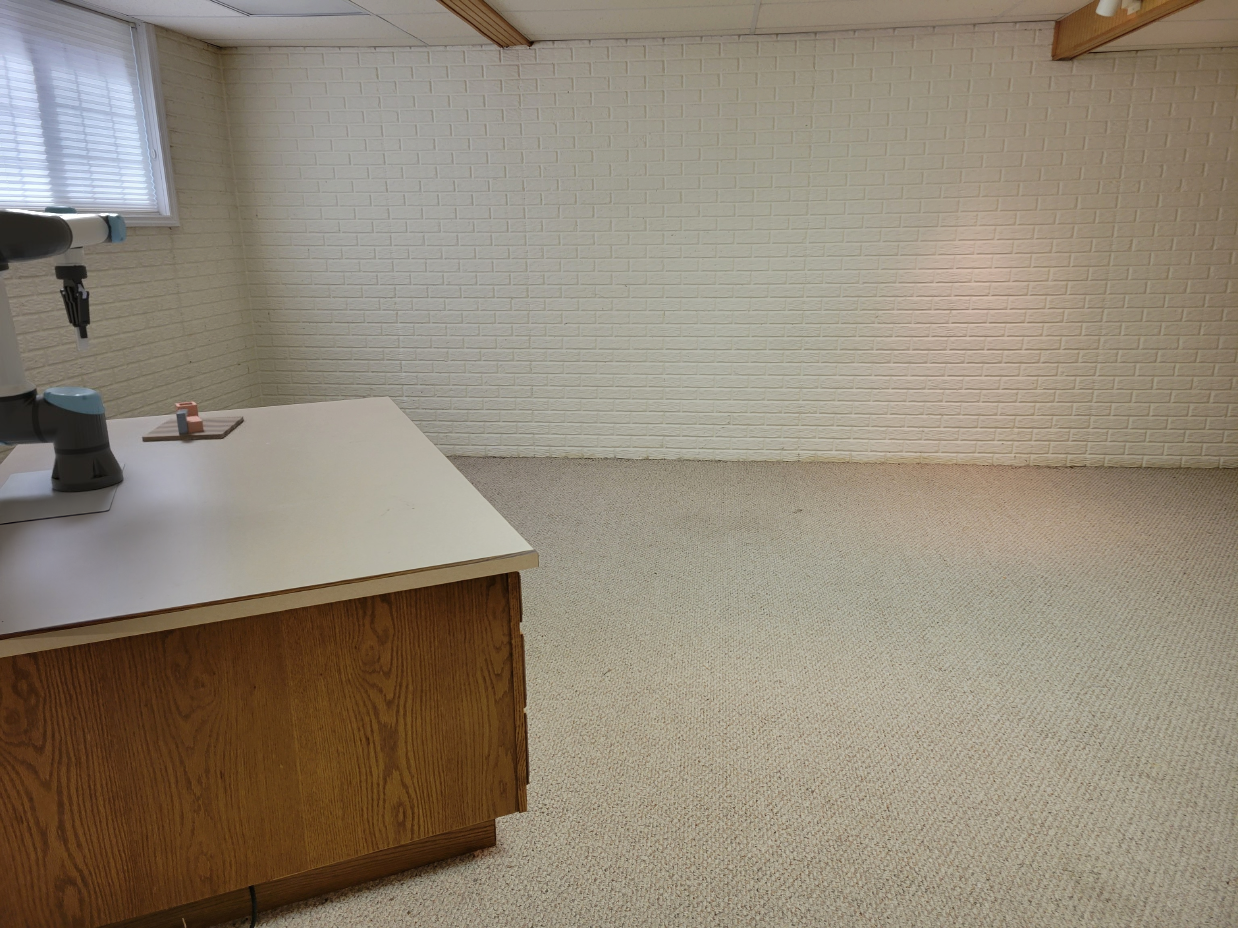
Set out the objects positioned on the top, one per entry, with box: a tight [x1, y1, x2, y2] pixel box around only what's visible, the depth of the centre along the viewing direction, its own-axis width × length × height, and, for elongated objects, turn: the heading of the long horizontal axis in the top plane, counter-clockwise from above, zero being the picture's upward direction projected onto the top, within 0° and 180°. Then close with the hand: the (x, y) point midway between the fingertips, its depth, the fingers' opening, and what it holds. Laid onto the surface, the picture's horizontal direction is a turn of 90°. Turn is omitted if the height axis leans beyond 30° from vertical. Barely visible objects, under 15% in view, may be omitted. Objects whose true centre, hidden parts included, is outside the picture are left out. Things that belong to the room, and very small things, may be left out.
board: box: [141, 416, 245, 442], centre depth 271 cm, size 24×22×1 cm
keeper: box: [175, 409, 189, 434], centre depth 263 cm, size 6×2×7 cm, turn 18°
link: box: [174, 401, 204, 432], centre depth 270 cm, size 16×5×6 cm, turn 34°
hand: (84, 349), depth 252 cm, fingers closed
